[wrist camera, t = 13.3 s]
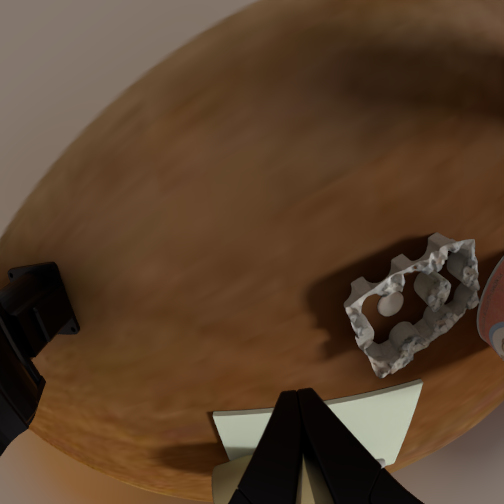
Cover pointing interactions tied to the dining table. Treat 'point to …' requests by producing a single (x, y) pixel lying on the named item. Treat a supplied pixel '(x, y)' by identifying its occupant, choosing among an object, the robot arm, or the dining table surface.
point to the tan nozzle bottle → (232, 472)
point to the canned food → (493, 310)
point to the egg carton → (429, 289)
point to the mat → (347, 410)
